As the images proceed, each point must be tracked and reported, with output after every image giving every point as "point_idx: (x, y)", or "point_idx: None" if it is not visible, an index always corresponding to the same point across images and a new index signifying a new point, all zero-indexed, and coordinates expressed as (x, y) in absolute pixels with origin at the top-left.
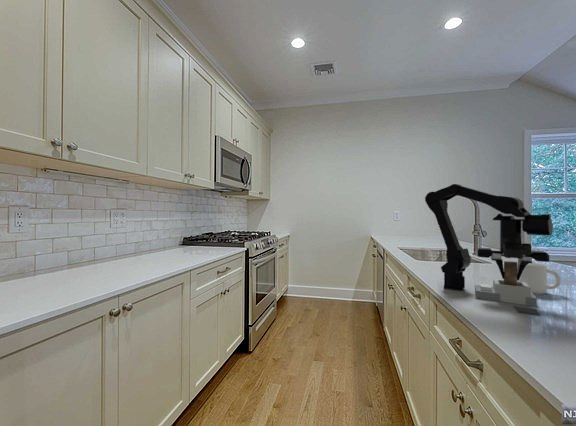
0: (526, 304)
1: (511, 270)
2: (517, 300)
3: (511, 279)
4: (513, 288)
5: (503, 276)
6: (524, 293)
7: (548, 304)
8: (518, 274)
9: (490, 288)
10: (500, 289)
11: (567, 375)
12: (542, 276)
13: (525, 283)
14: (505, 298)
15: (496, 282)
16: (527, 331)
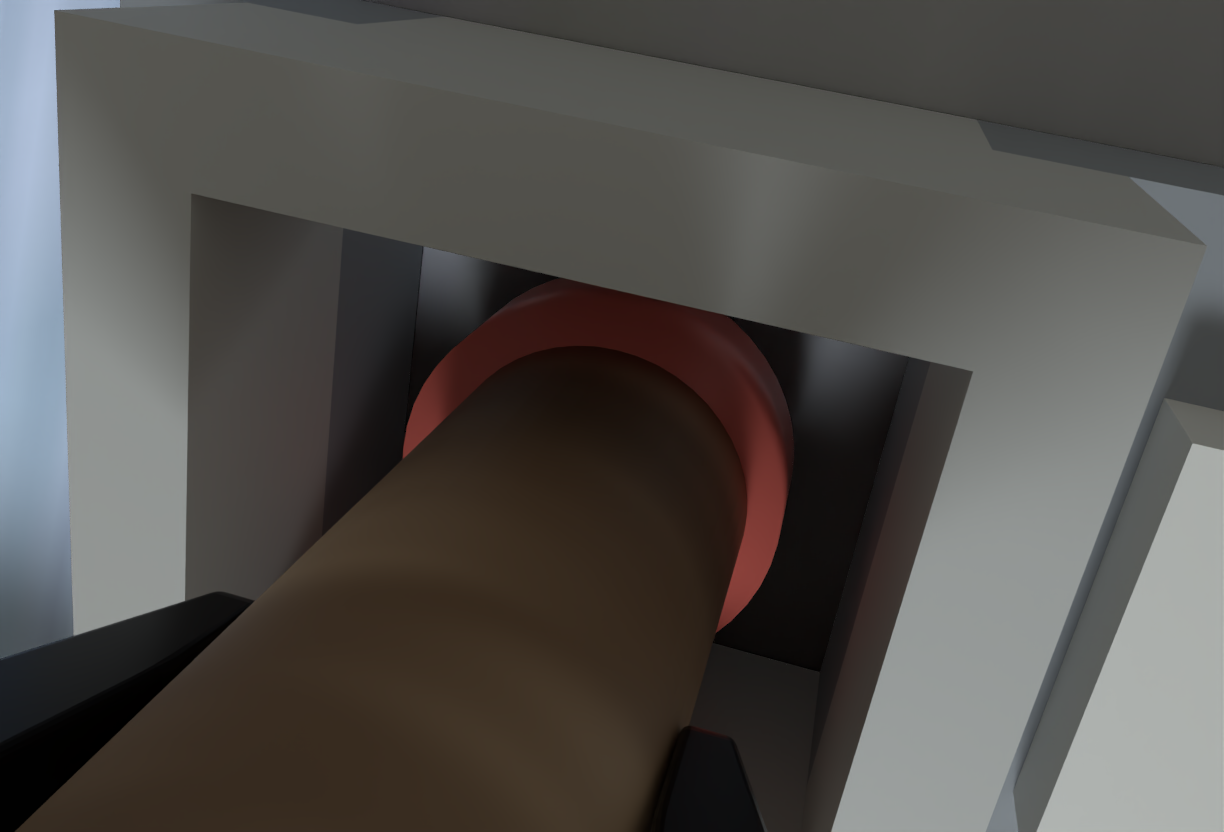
0: (424, 16)
1: (242, 816)
2: (579, 55)
3: (466, 529)
4: (581, 102)
5: (702, 778)
6: (334, 30)
7: (14, 245)
8: (65, 696)
9: (1216, 439)
10: (999, 168)
11: None
12: None
13: None
14: (853, 103)
15: (996, 619)
16: None
